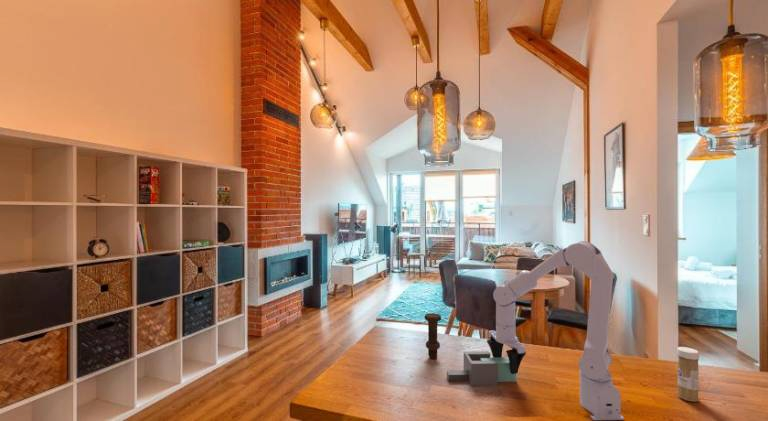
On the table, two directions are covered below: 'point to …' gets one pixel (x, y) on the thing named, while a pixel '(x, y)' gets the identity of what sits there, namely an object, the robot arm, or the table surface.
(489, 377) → the header
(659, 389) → the table surface
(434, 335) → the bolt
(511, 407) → the table surface
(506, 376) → the plug
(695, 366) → the sprinkles bottle
